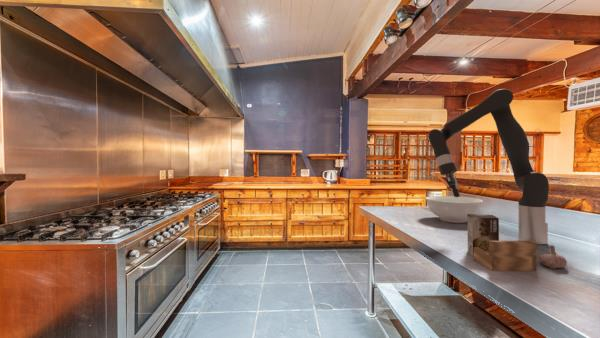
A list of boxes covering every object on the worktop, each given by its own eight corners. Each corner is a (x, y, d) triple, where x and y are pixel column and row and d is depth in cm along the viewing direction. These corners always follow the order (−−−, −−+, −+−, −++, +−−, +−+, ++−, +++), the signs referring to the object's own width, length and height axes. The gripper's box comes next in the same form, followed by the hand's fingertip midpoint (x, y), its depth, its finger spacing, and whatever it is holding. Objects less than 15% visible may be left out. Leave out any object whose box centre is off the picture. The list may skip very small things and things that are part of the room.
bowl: (419, 221, 157) (419, 199, 157) (431, 213, 182) (431, 194, 181) (480, 229, 136) (480, 203, 136) (484, 219, 160) (484, 197, 160)
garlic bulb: (551, 271, 82) (551, 248, 82) (532, 262, 90) (532, 241, 90) (574, 271, 82) (574, 248, 82) (553, 262, 89) (553, 241, 89)
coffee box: (492, 253, 99) (492, 214, 99) (499, 258, 93) (499, 217, 93) (466, 250, 102) (466, 213, 102) (472, 256, 96) (472, 216, 96)
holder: (513, 260, 92) (513, 234, 92) (536, 270, 82) (536, 242, 82) (473, 260, 92) (473, 234, 92) (492, 270, 83) (492, 241, 83)
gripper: (450, 159, 117) (463, 193, 111) (457, 164, 126) (468, 196, 120) (434, 164, 122) (445, 197, 116) (442, 169, 131) (452, 200, 125)
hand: (457, 196), depth 118 cm, fingers closed
